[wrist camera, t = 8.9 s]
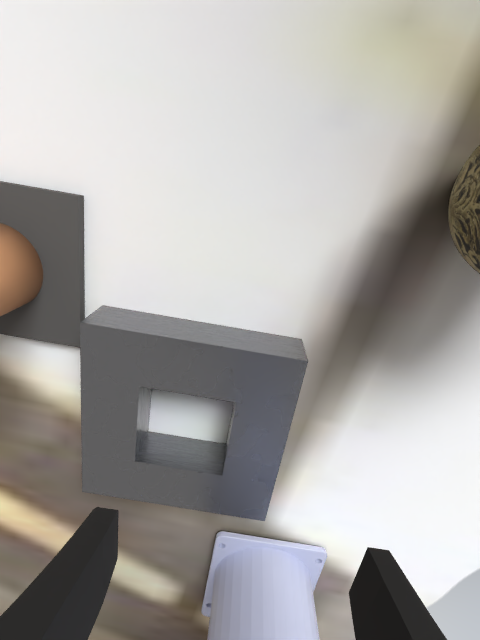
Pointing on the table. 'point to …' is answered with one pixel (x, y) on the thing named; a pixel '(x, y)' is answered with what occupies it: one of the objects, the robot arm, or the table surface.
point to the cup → (467, 211)
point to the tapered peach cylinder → (17, 270)
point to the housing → (193, 379)
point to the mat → (48, 262)
